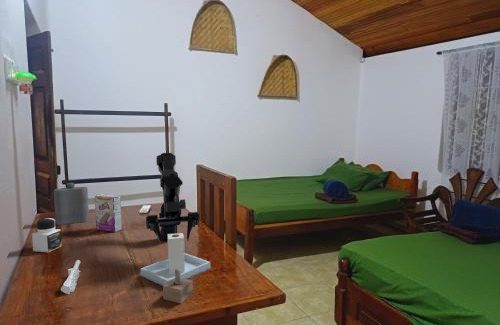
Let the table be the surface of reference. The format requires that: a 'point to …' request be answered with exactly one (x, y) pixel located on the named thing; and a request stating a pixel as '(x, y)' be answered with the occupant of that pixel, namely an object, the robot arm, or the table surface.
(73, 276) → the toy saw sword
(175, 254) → the bored block
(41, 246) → the medicine bottle
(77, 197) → the flask
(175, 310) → the table surface
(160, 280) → the tray
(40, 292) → the table surface
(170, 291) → the wood block with post
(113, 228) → the candy bar box
